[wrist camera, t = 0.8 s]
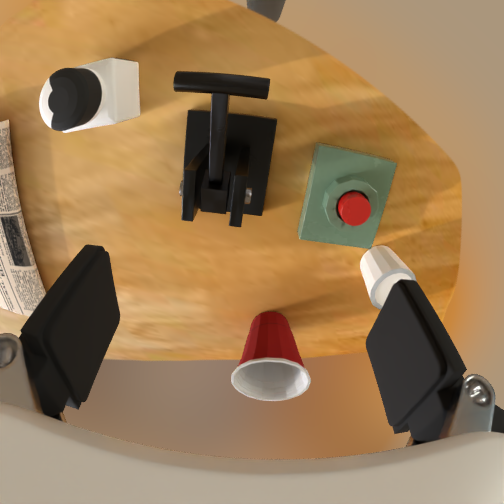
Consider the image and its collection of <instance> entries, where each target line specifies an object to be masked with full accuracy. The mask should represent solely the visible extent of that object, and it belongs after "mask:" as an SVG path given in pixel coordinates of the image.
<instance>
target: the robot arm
mask: <svg viewBox="0 0 504 504" xmlns="http://www.w3.org/2000/svg"><path fill="white" fill-rule="evenodd" d="M119 321H120V311H119V307H118V302H117V297H116V292H115V286H114V281H113V275H112V269H111V263H110V257H109V253H108V252H107V251H105V249H104V248H103V247H102V246H95V245H85V246H84V247H83V249H82V250H81V251H80V252H79V253H78V254H77V256H76V257H75V258H74V259H73V260H72V262H71V263H70V264H69V265H68V267H67V268H66V269H65V270H64V272H63V273H62V274H61V275H60V277H59V278H58V279H57V280H56V282H55V283H54V284H53V286H52V287H51V288H50V290H49V291H48V292H47V293H46V295H45V296H44V298H43V299H42V300H41V302H40V303H39V304H38V306H37V307H36V309H35V310H34V311H33V313H32V314H31V316H30V317H29V319H28V320H27V321H26V323H25V324H24V326H23V327H22V329H21V330H20V331H21V333H22V334H21V335H20V337H19V338H18V337H17V336H16V335H14V334H11V333H3V334H0V504H504V410H503V409H501V408H500V407H498V406H497V405H495V392H494V389H493V387H492V386H491V384H490V383H489V382H488V381H487V380H486V379H485V378H484V377H482V376H480V375H477V374H471V375H468V376H467V377H466V378H465V379H464V378H463V376H462V375H463V374H464V372H465V371H466V370H467V369H466V367H465V365H464V363H463V361H462V359H461V357H460V355H459V353H458V351H457V349H456V347H455V346H454V344H453V342H452V340H451V339H450V336H449V335H448V333H447V331H446V329H445V327H444V326H443V324H442V322H441V321H440V319H439V317H438V315H437V314H436V312H435V310H434V309H433V307H432V305H431V304H430V302H429V301H428V299H427V297H426V296H425V294H424V293H423V291H422V289H421V288H420V286H419V285H418V283H417V282H416V281H415V280H407V279H400V280H398V281H397V283H394V284H393V286H392V288H391V290H390V292H389V294H388V296H387V299H386V301H385V303H384V305H383V307H382V309H381V311H380V313H379V315H378V317H377V319H376V321H375V323H374V325H373V327H372V329H371V331H370V333H369V335H368V337H367V339H366V349H367V352H368V354H369V358H370V361H371V364H372V367H373V371H374V374H375V377H376V380H377V384H378V387H379V391H380V394H381V398H382V401H383V405H384V408H385V412H386V416H387V419H388V423H389V425H390V426H393V430H394V433H395V434H397V433H402V432H408V431H409V430H410V433H411V437H410V438H409V441H408V443H407V445H406V447H404V448H399V449H393V450H388V451H382V452H376V453H368V454H361V455H353V456H344V457H332V458H318V459H317V458H316V459H279V460H278V459H274V460H273V459H245V458H230V457H219V456H209V455H201V454H193V453H186V452H180V451H173V450H168V449H162V448H157V447H152V446H147V445H143V444H138V443H133V442H129V441H125V440H122V439H118V438H114V437H110V436H106V435H103V434H100V433H96V432H93V431H90V430H86V429H83V428H80V427H77V426H74V425H71V424H68V423H67V422H66V419H65V417H64V414H63V410H64V408H65V405H67V406H70V407H73V408H76V409H79V407H80V405H81V402H85V401H86V400H87V398H88V395H89V393H90V390H91V388H92V385H93V382H94V380H95V377H96V375H97V373H98V370H99V368H100V365H101V363H102V361H103V358H104V356H105V354H106V351H107V349H108V347H109V344H110V342H111V340H112V338H113V335H114V333H115V331H116V329H117V327H118V324H119Z"/></svg>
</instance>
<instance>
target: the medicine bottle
mask: <svg viewBox="0 0 504 504" xmlns="http://www.w3.org/2000/svg"><path fill="white" fill-rule="evenodd" d="M39 108H40V113H41V116H42V118H43V120H44V122H45V123H46V124H47V125H48V126H49V127H50V128H52V129H54V130H57V131H63V132H64V133H68V132H72V131H77V130H82V129H88V128H93V127H99V126H105V125H111V124H116V123H119V122H123V121H126V120H129V119H133V118H136V117H139V116H140V97H139V64H138V62H137V61H132V60H126V59H119V58H108V59H104V60H100V61H96V62H92V63H88V64H85V65H81V66H78V67H75V68H64V69H60V70H58V71H56V72H55V73H53V74H52V75H51V76H50V77H49V78H48V80H47V81H46V83H45V84H44V86H43V89H42V91H41V94H40V100H39Z"/></svg>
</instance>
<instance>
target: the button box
mask: <svg viewBox="0 0 504 504" xmlns="http://www.w3.org/2000/svg"><path fill="white" fill-rule="evenodd" d="M396 165H397V163H395V162H394V161H392V160H390V159H387V158H384V157H380V156H376V155H372V154H368V153H364V152H360V151H355V150H351V149H347V148H342V147H338V146H333V145H328V144H323V143H318V142H316V145H315V150H314V155H313V160H312V165H311V170H310V175H309V180H308V185H307V189H306V194H305V199H304V204H303V208H302V213H301V217H300V222H299V226H298V231H297V232H298V235H299V239H301V240H309V241H316V242H324V243H331V244H338V245H345V246H353V247H360V248H367V249H371V247H372V244H373V241H374V238H375V235H376V232H377V229H378V226H379V223H380V220H381V217H382V214H383V210H384V207H385V204H386V201H387V197H388V194H389V191H390V187H391V184H392V180H393V176H394V173H395V169H396ZM348 192H359V193H361V194H362V195H363V196H364V197H365V198H366V199H367V200H368V202H369V203H370V206H371V214H370V216H369V218H368V220H367V221H366V222H365V223H363V224H361V225H358V226H351V225H348V224H347V223H345V222H344V220H343V219H342V217H341V216H340V214H339V212H338V203H339V200H340V199H341V197H342V196H343V195H344V194H346V193H348Z"/></svg>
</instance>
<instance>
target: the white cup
mask: <svg viewBox="0 0 504 504" xmlns="http://www.w3.org/2000/svg"><path fill="white" fill-rule="evenodd" d="M360 269H361V272H362V275H363V278H364V281H365V284H366V287H367V291H368V294H369V297H370V300H371V302H372V304H373V305H374V306H375V307H376V308H378V309H382V307H383V305H384V303H385V301H386V299H387V296H388V294H389V292H390V290H391V288H392V286H393V284H394V283H397V281H398V280H400V279H407V280H415V281H416V277H415V275H414V273H413V272H412V271H411V270H410V269H409V268H408V267H407V266H406V265H405V264H404V262H403V261H402V260H401V259H400V258H399V257H398V256H397V255H396V254H395V253H394V252H393V251H392V250H391V249H390V248H389V247H387V246H383V245H379V246H374V247H372V248H371V249H369V250H368V251H367V252H366V253H365V254H364V255H363V257H362V259H361V261H360ZM416 282H417V281H416Z"/></svg>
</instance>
